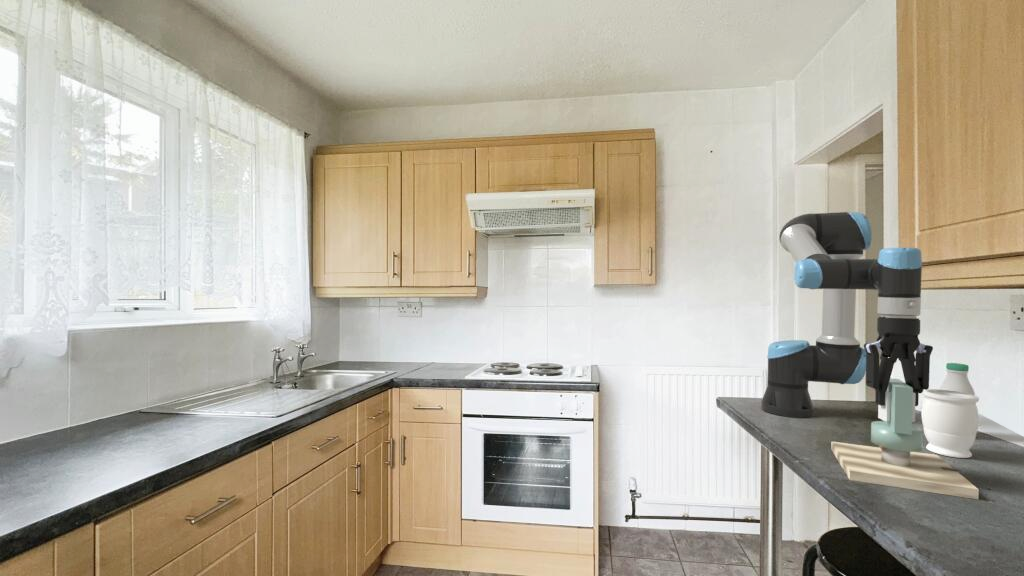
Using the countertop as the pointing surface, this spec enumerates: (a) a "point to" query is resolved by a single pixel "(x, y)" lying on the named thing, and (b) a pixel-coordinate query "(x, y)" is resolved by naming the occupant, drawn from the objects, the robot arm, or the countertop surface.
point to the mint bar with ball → (898, 421)
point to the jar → (950, 422)
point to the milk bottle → (957, 379)
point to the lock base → (902, 469)
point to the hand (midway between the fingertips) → (896, 419)
